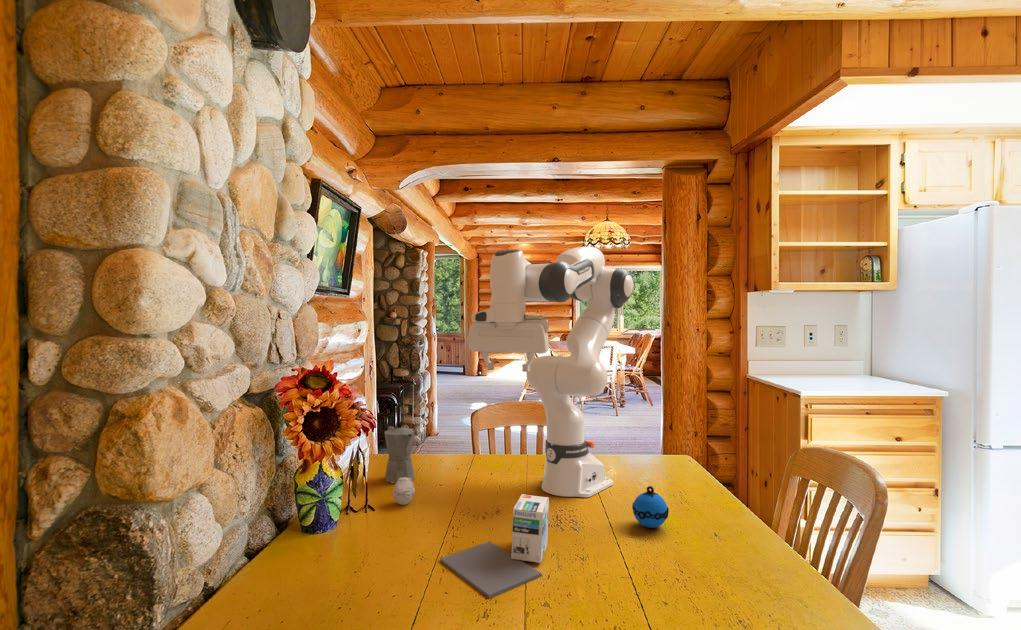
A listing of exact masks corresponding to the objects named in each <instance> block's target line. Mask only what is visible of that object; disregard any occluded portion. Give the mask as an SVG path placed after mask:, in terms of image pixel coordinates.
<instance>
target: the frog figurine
mask: <svg viewBox="0 0 1021 630" xmlns="http://www.w3.org/2000/svg"><path fill="white" fill-rule="evenodd" d="M415 493H416V488H415V484H414V482H413V480H412V481H411V478H407V477H403V478H399V479H398V481H397V482H396V484H394V486H393V489H392V495H393V498H394V501H395V502H396V503H397V504H398V505H401V506H403V505H408V504H409V503H410V502H411V501H412V499H413V497H414V495H415Z"/></svg>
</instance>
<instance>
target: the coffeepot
mask: <svg viewBox="0 0 1021 630" xmlns="http://www.w3.org/2000/svg"><path fill="white" fill-rule="evenodd" d="M402 425H403V421H397V422H396V426H397V427H394V426H390V425H386V426H385V427H384V429H383V438H384V444H385V448H386V451H387V454H388V459H387V461H386V462H387V463H386V467H385V468H386V469H385V475H384V479H386V480H385V482H386V481H387V482H386V483H388V482H393V483H396V482H397V481H398V479H399V478H403V477H407V478H411V480H412V479H413V480H414V479H415V473H414V472H415V471H414V467H413V462H412V461H413V460H412V458H411V453H413V445H414V437H415V431H414V429H413V428H407V427H402ZM413 480H412V481H413Z"/></svg>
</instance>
